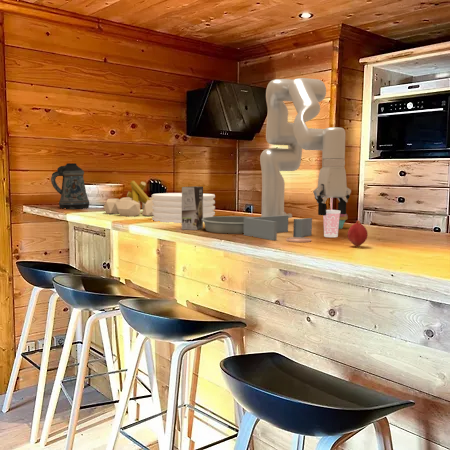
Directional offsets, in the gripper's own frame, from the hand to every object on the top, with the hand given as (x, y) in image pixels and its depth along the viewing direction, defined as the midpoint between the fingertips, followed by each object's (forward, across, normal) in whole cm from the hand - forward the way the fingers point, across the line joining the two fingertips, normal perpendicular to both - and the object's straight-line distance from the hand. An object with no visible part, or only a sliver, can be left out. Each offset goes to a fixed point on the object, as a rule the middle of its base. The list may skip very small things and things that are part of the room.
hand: (332, 214), depth 177 cm
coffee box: (+7, +29, -44) cm, 54 cm away
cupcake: (+7, -21, -18) cm, 28 cm away
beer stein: (+5, +36, -162) cm, 166 cm away
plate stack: (+7, +14, -76) cm, 78 cm away
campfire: (+6, +17, -114) cm, 115 cm away
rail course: (+8, +14, -11) cm, 19 cm away
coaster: (+8, +17, +2) cm, 19 cm away
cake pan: (+8, +18, -32) cm, 38 cm away
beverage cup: (+8, 0, 0) cm, 8 cm away
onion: (+8, +11, +20) cm, 25 cm away
